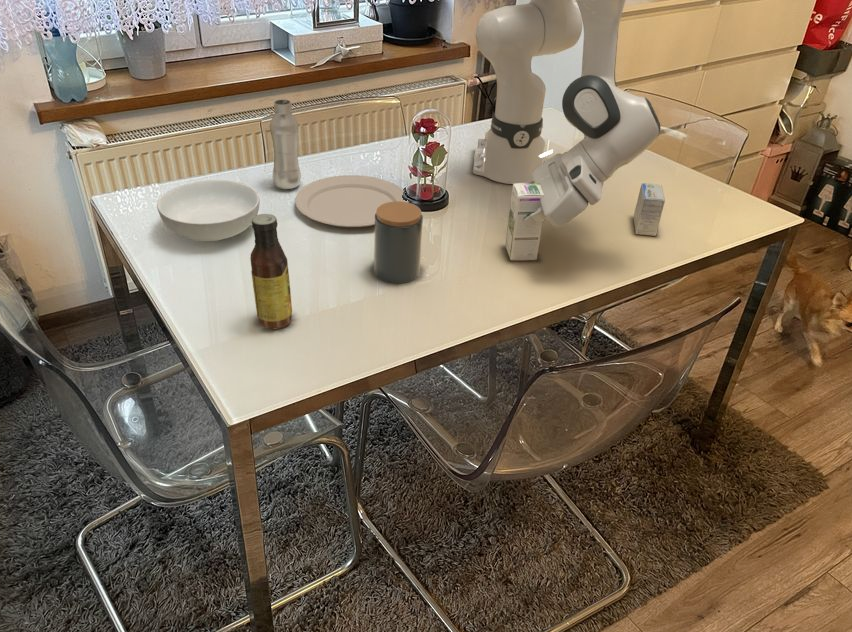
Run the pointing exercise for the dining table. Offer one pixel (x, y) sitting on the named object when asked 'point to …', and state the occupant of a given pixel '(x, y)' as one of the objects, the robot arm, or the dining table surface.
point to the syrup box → (520, 236)
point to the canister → (397, 242)
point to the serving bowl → (209, 209)
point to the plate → (346, 199)
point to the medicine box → (648, 209)
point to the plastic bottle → (285, 146)
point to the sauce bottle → (270, 274)
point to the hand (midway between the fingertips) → (523, 214)
